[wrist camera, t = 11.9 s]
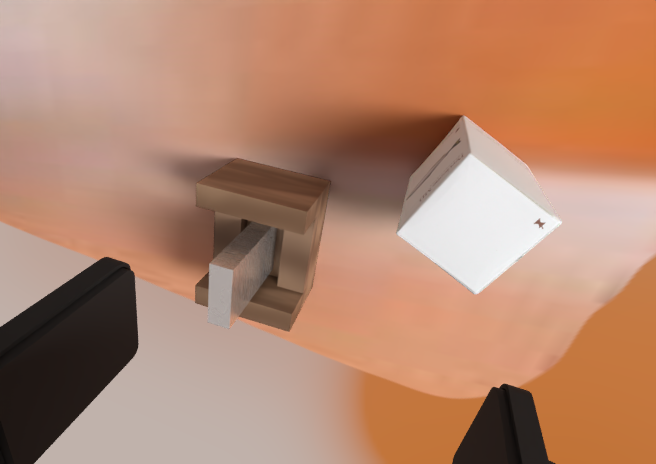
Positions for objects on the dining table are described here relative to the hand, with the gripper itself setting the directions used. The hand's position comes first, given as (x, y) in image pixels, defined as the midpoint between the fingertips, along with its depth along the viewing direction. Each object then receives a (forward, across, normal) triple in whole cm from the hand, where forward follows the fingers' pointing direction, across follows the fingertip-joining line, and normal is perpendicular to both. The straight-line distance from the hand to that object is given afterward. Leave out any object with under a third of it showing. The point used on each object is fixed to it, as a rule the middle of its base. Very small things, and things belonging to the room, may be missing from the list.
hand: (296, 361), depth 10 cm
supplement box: (+30, -7, +3) cm, 31 cm away
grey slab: (+27, +10, +14) cm, 32 cm away
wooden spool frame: (+30, +10, +14) cm, 34 cm away
